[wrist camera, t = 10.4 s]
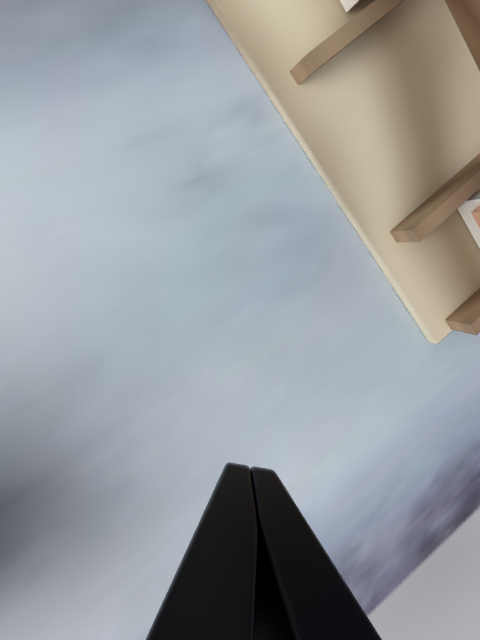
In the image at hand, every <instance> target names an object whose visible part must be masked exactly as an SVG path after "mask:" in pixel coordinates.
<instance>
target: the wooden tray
mask: <svg viewBox="0 0 480 640" xmlns="http://www.w3.org/2000/svg"><path fill="white" fill-rule="evenodd" d="M206 1H207V3H208V4H209V6H210V7H211V9H212V10H213V12H214V13H215V15H216V17H217V18H218V20H219V21H220V23H221V24H222V26H223V27H224V29H225V30H226V32H227V33H228V35H229V36H230V38H231V40H232V41H233V43H234V44H235V46H236V47H237V49H238V50H239V52H240V53H241V55H242V56H243V58H244V60H245V61H246V63H247V64H248V66H249V67H250V69H251V70H252V72H253V73H254V75H255V76H256V78H257V79H258V81H259V83H260V84H261V86H262V87H263V89H264V90H265V92H266V93H267V95H268V96H269V98H270V99H271V101H272V102H273V104H274V106H275V107H276V109H277V110H278V112H279V113H280V115H281V116H282V118H283V119H284V121H285V122H286V124H287V125H288V127H289V129H290V130H291V132H292V133H293V135H294V136H295V138H296V139H297V141H298V142H299V144H300V145H301V147H302V149H303V150H304V152H305V153H306V155H307V156H308V158H309V159H310V161H311V162H312V164H313V165H314V167H315V168H316V170H317V172H318V173H319V175H320V176H321V178H322V179H323V181H324V182H325V184H326V185H327V187H328V188H329V190H330V191H331V193H332V195H333V196H334V198H335V199H336V201H337V202H338V204H339V205H340V207H341V208H342V210H343V211H344V213H345V214H346V216H347V218H348V219H349V221H350V222H351V224H352V225H353V227H354V228H355V230H356V231H357V233H358V234H359V236H360V238H361V239H362V241H363V242H364V244H365V245H366V247H367V248H368V250H369V251H370V253H371V254H372V256H373V257H374V259H375V261H376V262H377V264H378V265H379V267H380V268H381V270H382V271H383V273H384V274H385V276H386V277H387V279H388V280H389V282H390V284H391V285H392V287H393V288H394V290H395V291H396V293H397V294H398V296H399V297H400V299H401V300H402V302H403V303H404V305H405V307H406V308H407V310H408V311H409V313H410V314H411V316H412V317H413V319H414V320H415V322H416V323H417V325H418V327H419V328H420V330H421V331H422V333H423V334H424V336H425V337H426V339H427V340H428V342H431V343H434V344H438V343H439V342H440V341H441V340H442V339H443V338H444V337H445V336H447V335H448V334H449V333H450V332H451V331H452V330H456V331H461V332H465V333H469V334H473V335H477V334H478V333H479V332H480V248H479V246H478V245H477V243H476V241H475V239H474V238H473V236H472V234H471V232H470V230H469V229H468V227H467V225H466V223H465V221H464V220H463V218H462V216H461V214H460V213H459V211H458V209H457V208H459V207H460V206H461V205H462V204H463V203H464V202H465V201H467V200H468V199H469V198H470V197H471V196H472V195H473V194H474V193H476V192H477V191H478V190H479V189H480V0H362V1H361V2H360V3H358V4H357V5H356V6H354V7H353V8H352V9H351V10H349V11H348V12H347V13H346V11H345V9H344V8H343V6H342V4H341V2H340V0H206Z"/></svg>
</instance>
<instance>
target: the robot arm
mask: <svg viewBox="0 0 480 640" xmlns="http://www.w3.org/2000/svg"><path fill="white" fill-rule="evenodd" d="M146 640H382V639H381V638H380V636H379V635H378V633H377V632H376V630H375V628H374V627H373V625H372V624H371V622H370V621H369V619H368V617H367V616H366V614H365V613H364V611H363V609H362V608H361V606H360V605H359V603H358V602H357V600H356V598H355V597H354V595H353V594H352V592H351V591H350V589H349V587H348V586H347V584H346V583H345V581H344V580H343V578H342V576H341V575H340V573H339V572H338V570H337V569H336V567H335V565H334V564H333V562H332V561H331V559H330V557H329V556H328V554H327V553H326V551H325V550H324V548H323V546H322V545H321V543H320V542H319V540H318V539H317V537H316V535H315V534H314V532H313V531H312V529H311V528H310V526H309V524H308V523H307V521H306V520H305V518H304V517H303V515H302V513H301V512H300V510H299V509H298V507H297V506H296V504H295V502H294V501H293V499H292V498H291V496H290V494H289V493H288V491H287V490H286V488H285V487H284V485H283V483H282V482H281V480H280V479H279V477H278V476H277V474H276V473H275V472H274V471H273V470H271V469H266V468H260V467H251V468H249V467H248V466H247V465H242V464H235V463H227V464H226V465H225V467H224V469H223V471H222V473H221V476H220V478H219V480H218V482H217V484H216V487H215V489H214V491H213V493H212V495H211V498H210V500H209V502H208V504H207V506H206V509H205V511H204V513H203V515H202V517H201V519H200V522H199V524H198V526H197V528H196V530H195V533H194V535H193V537H192V539H191V541H190V544H189V546H188V548H187V550H186V552H185V555H184V557H183V559H182V561H181V563H180V566H179V568H178V570H177V572H176V574H175V576H174V579H173V581H172V583H171V585H170V587H169V590H168V592H167V594H166V596H165V598H164V601H163V603H162V605H161V607H160V609H159V612H158V614H157V616H156V618H155V620H154V622H153V625H152V627H151V629H150V631H149V633H148V636H147V638H146Z"/></svg>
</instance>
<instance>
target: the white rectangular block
mask: <svg viewBox="0 0 480 640" xmlns="http://www.w3.org/2000/svg"><path fill="white" fill-rule="evenodd" d="M361 1H362V0H340V2H341V4H342V6H343V8H344V9H345V11H346V13H347V12H348V11H349V10H351V9H352V8H353V7H354V6H356V5H357V4H358V3H360V2H361Z"/></svg>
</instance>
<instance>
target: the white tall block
mask: <svg viewBox="0 0 480 640" xmlns="http://www.w3.org/2000/svg"><path fill="white" fill-rule="evenodd" d="M457 209H458V211H459V213H460V214H461V216H462V218H463V220H464V221H465V223H466V225H467V227H468V229H469V230H470V232H471V234H472V236H473V238H474V239H475V241H476V243H477V245H478V246H479V248H480V189H479V190H478V191H477V192H476V193H474V194H473V195H472V196H471V197H470V198H469V199H468V200H467V201H465V202H464V203H463V204H462V205H461V206H460V207H459V208H457Z"/></svg>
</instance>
